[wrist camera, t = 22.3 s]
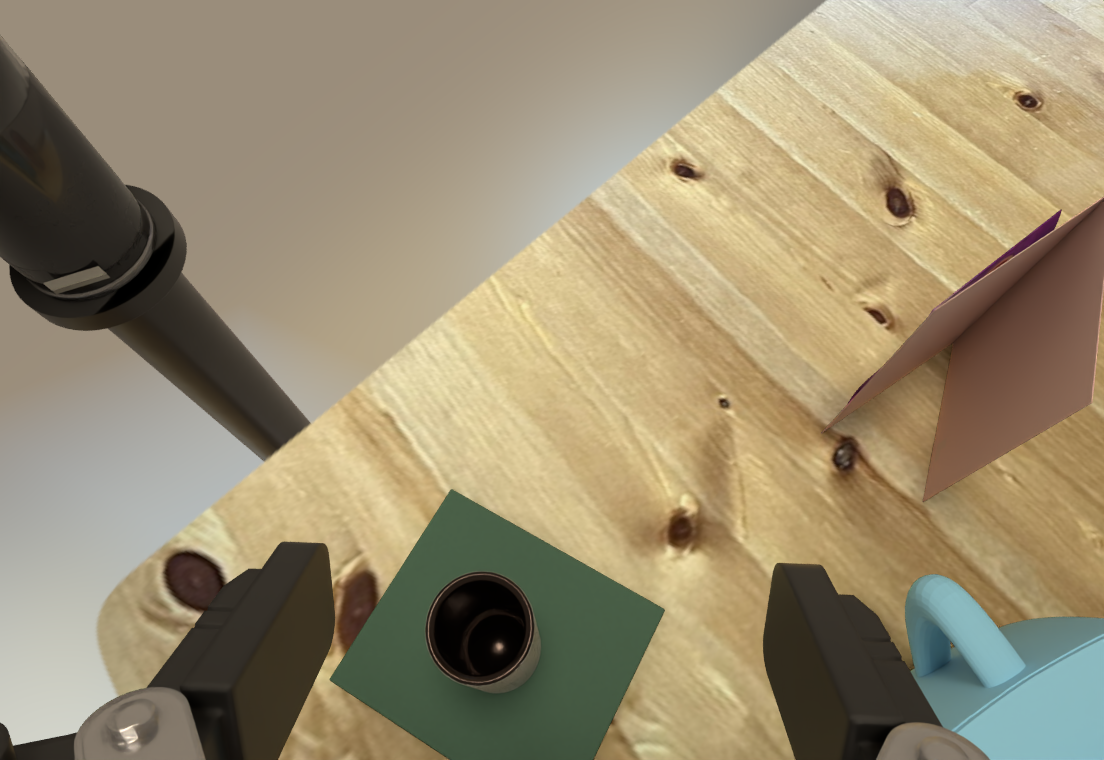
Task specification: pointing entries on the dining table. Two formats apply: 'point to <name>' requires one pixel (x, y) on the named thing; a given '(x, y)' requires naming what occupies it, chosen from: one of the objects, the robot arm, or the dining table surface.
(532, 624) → the planter
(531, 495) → the dining table surface
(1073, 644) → the teapot
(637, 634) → the green mat
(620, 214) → the dining table surface
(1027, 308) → the greeting card
